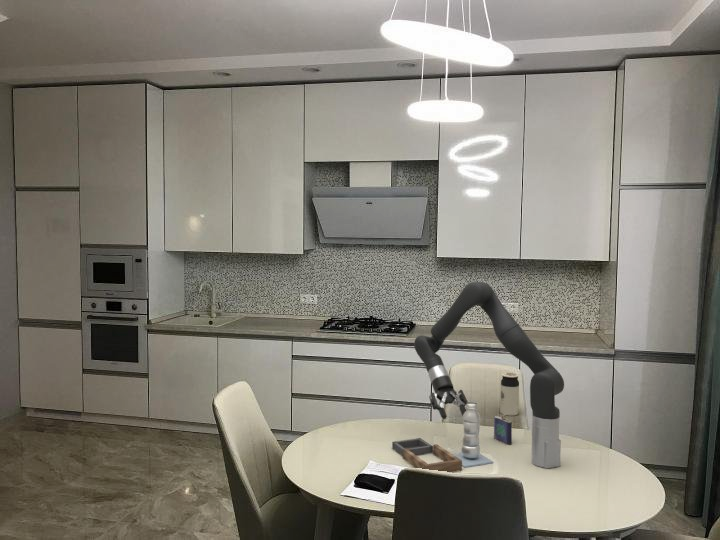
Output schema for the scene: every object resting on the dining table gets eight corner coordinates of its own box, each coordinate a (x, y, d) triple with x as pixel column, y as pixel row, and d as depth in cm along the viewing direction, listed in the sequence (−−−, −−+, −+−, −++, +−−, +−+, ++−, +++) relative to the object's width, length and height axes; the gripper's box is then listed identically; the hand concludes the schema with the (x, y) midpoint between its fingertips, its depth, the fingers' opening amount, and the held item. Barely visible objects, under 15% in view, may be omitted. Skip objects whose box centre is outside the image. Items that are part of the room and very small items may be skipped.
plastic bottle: (466, 452, 226) (467, 399, 225) (483, 457, 222) (484, 403, 221) (458, 457, 221) (458, 403, 220) (474, 462, 217) (475, 406, 216)
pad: (493, 463, 218) (493, 461, 218) (464, 467, 213) (464, 466, 213) (474, 451, 229) (474, 450, 229) (446, 456, 224) (446, 454, 224)
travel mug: (516, 411, 282) (517, 372, 280) (519, 416, 274) (520, 376, 273) (499, 410, 282) (500, 372, 281) (501, 415, 274) (502, 376, 273)
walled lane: (461, 470, 211) (461, 460, 211) (426, 476, 206) (426, 466, 205) (436, 453, 227) (436, 444, 227) (402, 458, 222) (402, 449, 222)
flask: (492, 438, 244) (492, 412, 244) (498, 437, 246) (498, 411, 245) (508, 445, 236) (508, 418, 235) (513, 444, 237) (514, 417, 237)
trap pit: (432, 452, 228) (432, 446, 227) (404, 457, 223) (404, 450, 223) (420, 444, 237) (420, 437, 237) (392, 448, 232) (392, 441, 232)
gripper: (427, 376, 234) (442, 414, 224) (459, 373, 239) (475, 410, 229) (420, 386, 239) (434, 423, 229) (452, 383, 245) (467, 419, 235)
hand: (455, 416), depth 229 cm, fingers open, 8 cm apart
